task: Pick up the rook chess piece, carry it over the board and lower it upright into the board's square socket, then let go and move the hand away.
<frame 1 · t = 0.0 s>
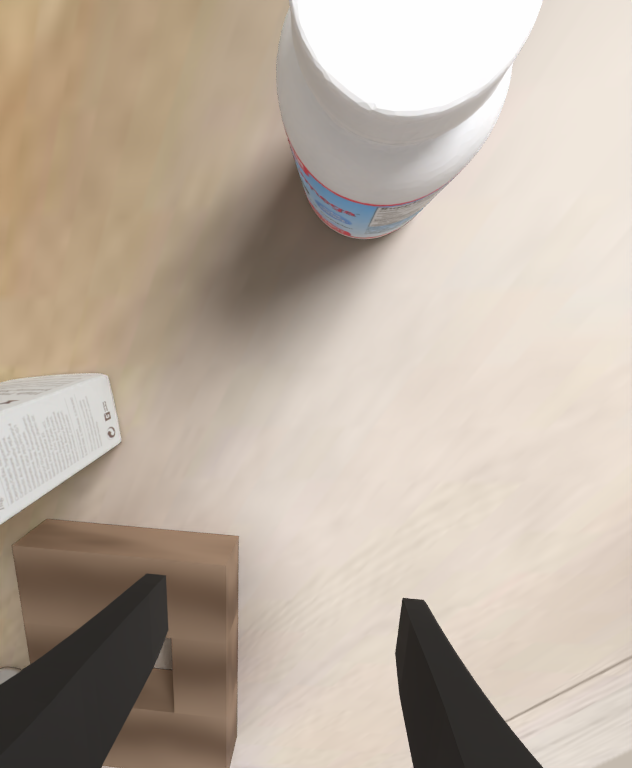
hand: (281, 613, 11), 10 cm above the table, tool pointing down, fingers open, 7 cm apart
pill bottle: (367, 175, 18), on the table
rook chess piece: (17, 685, 27), on the table
socket board: (147, 634, 24), on the table
skincare box: (69, 412, 21), on the table
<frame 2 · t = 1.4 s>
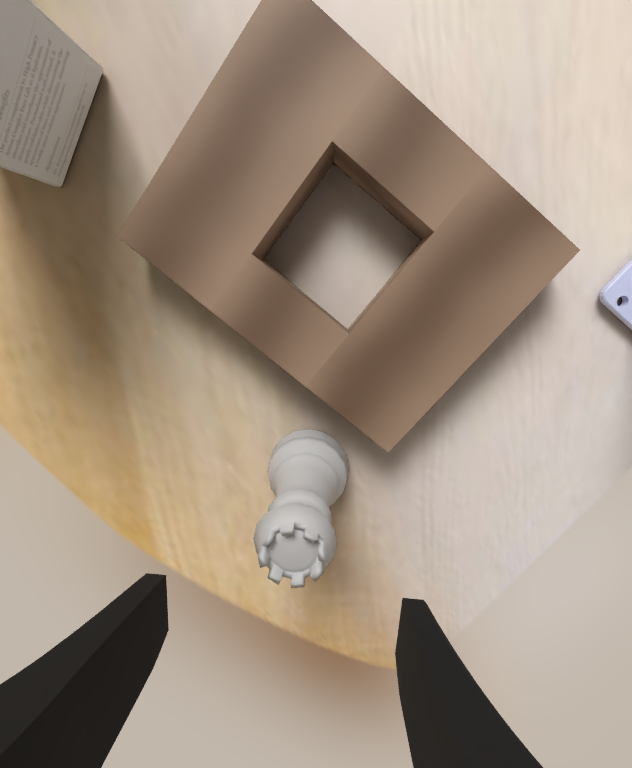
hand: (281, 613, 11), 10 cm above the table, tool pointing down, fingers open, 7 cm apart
rook chess piece: (309, 461, 21), on the table
socket board: (340, 250, 18), on the table
skincare box: (52, 116, 18), on the table
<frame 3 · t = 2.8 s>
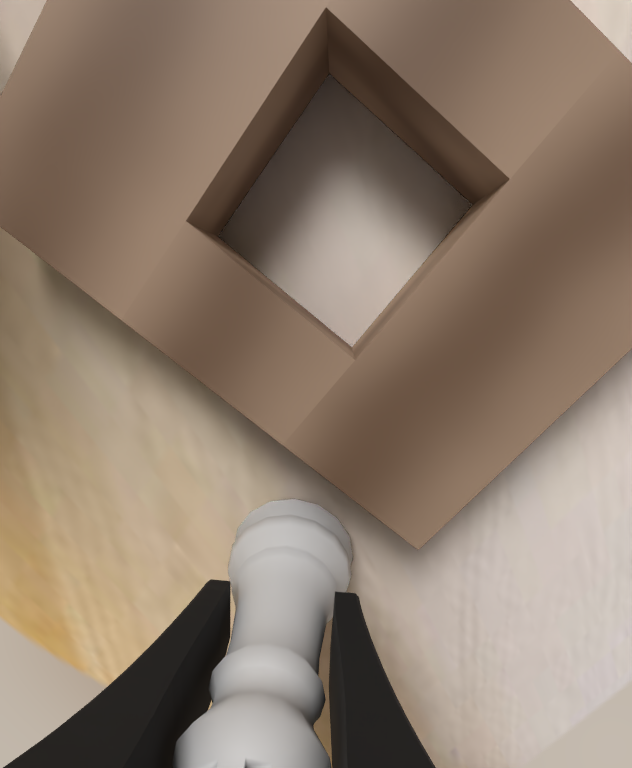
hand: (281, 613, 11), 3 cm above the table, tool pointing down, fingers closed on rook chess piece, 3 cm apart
rook chess piece: (294, 540, 14), on the table, touching gripper
socket board: (341, 220, 11), on the table
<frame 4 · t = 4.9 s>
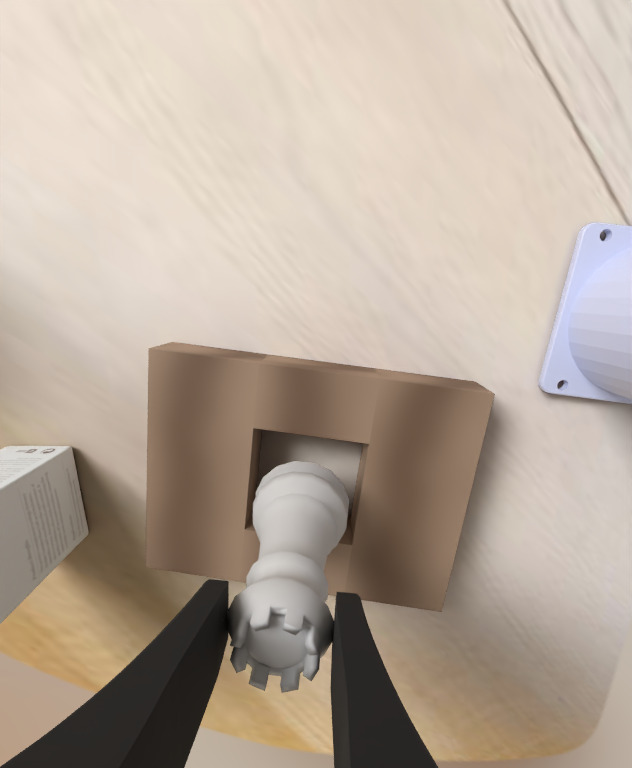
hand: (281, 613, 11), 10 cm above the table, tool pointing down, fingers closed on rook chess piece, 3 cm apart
rook chess piece: (303, 496, 18), point 3 cm above the table, touching gripper
socket board: (308, 466, 21), on the table
skincare box: (56, 490, 22), on the table
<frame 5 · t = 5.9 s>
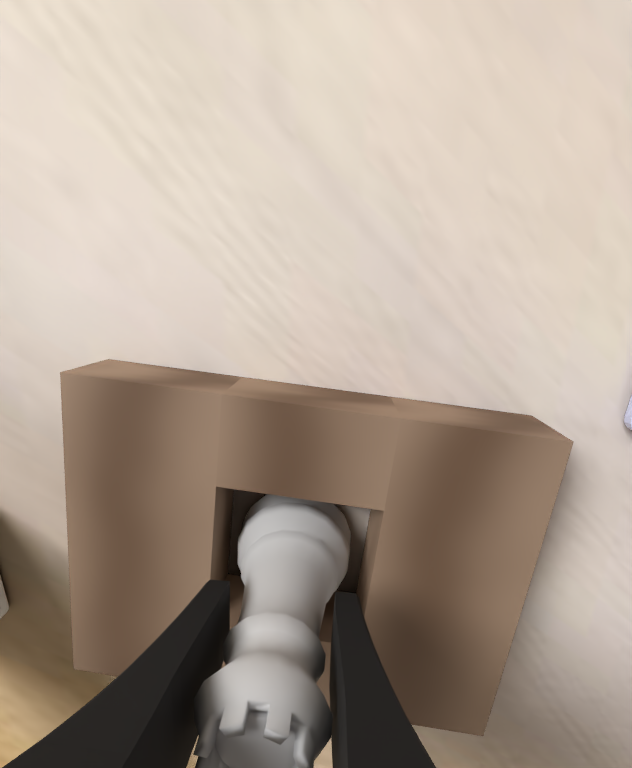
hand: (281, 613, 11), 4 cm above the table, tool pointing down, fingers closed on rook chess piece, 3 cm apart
rook chess piece: (297, 528, 16), resting in socket board, touching gripper
socket board: (298, 526, 15), on the table
when the fingers open (4 cm above the table, at t = 6.6 s): rook chess piece stays where it is, resting in socket board.
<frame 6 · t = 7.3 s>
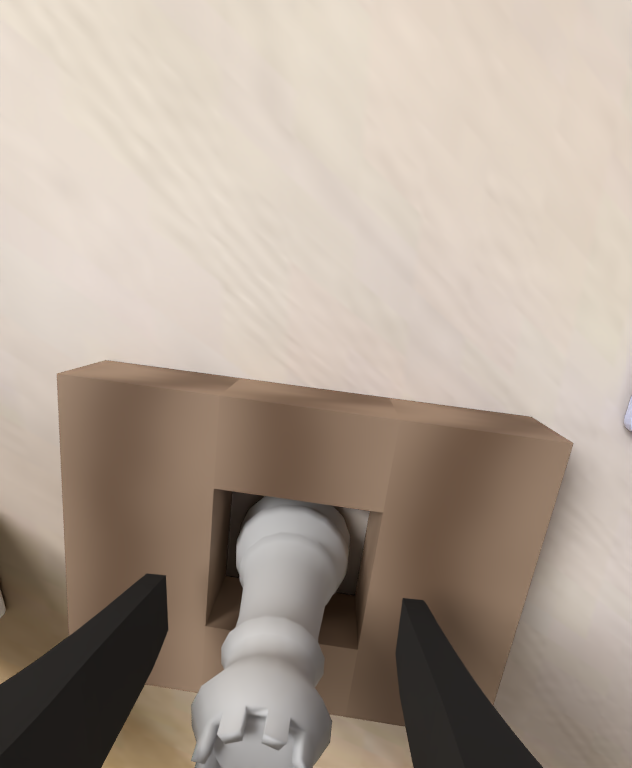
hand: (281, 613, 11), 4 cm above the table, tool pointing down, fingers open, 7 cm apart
rook chess piece: (296, 530, 15), resting in socket board
socket board: (297, 528, 15), on the table
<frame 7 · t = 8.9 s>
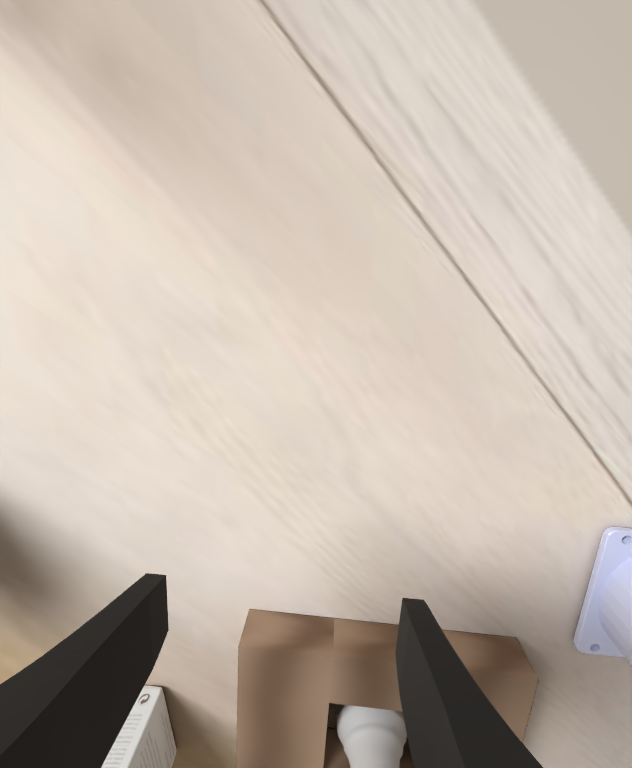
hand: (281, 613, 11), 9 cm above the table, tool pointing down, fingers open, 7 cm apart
rook chess piece: (369, 699, 24), resting in socket board
socket board: (370, 700, 24), on the table
skincare box: (147, 715, 26), on the table
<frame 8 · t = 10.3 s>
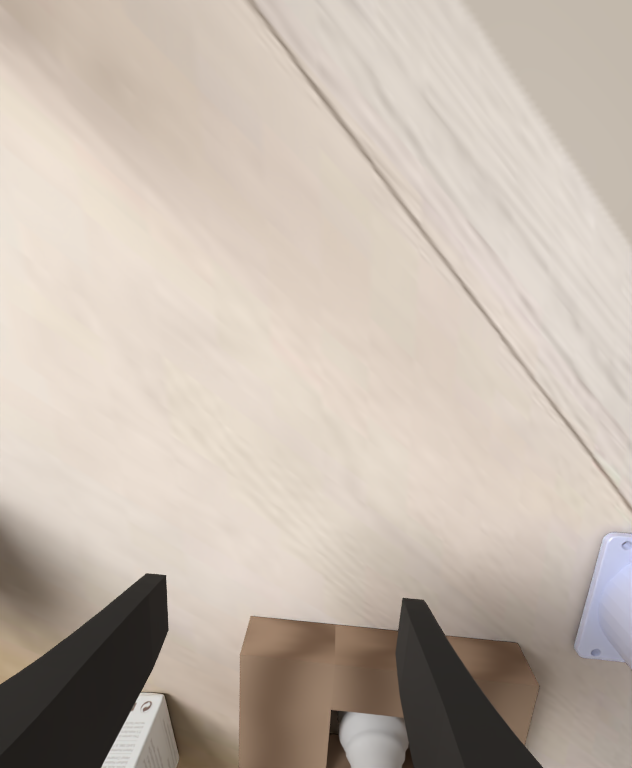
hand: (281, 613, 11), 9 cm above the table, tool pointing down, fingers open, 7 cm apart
rook chess piece: (371, 704, 24), resting in socket board
socket board: (372, 705, 24), on the table
skincare box: (149, 722, 26), on the table
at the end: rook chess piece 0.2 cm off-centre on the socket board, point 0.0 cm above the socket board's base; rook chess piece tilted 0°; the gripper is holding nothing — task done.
